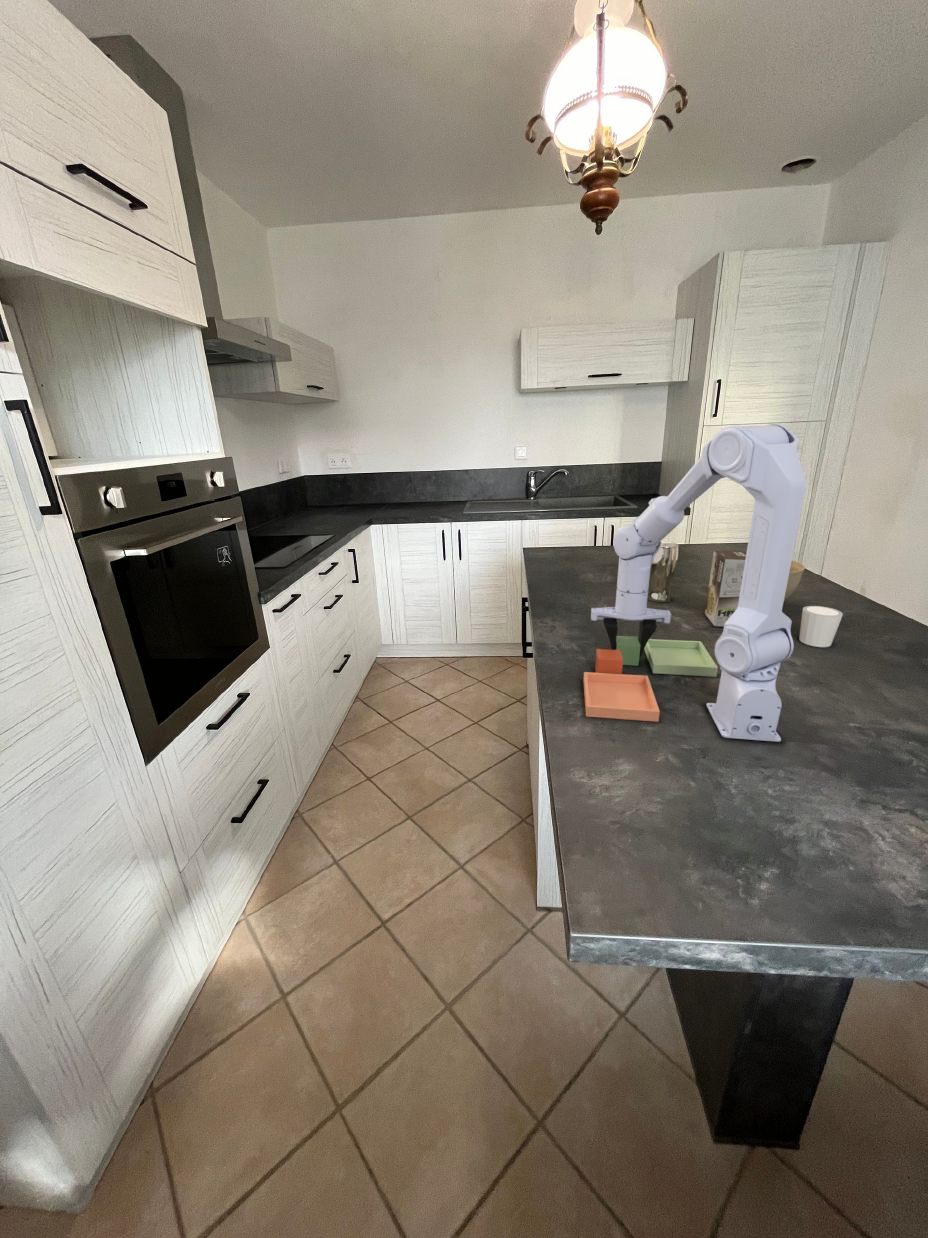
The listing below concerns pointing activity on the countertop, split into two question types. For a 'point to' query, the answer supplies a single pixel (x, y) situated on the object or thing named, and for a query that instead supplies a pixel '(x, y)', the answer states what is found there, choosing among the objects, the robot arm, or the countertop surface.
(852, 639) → the countertop surface
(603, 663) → the terracotta block
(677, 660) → the sage tray
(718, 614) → the coffee box
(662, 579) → the beer glass
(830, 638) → the white cup
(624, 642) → the sage block
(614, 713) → the terracotta tray
